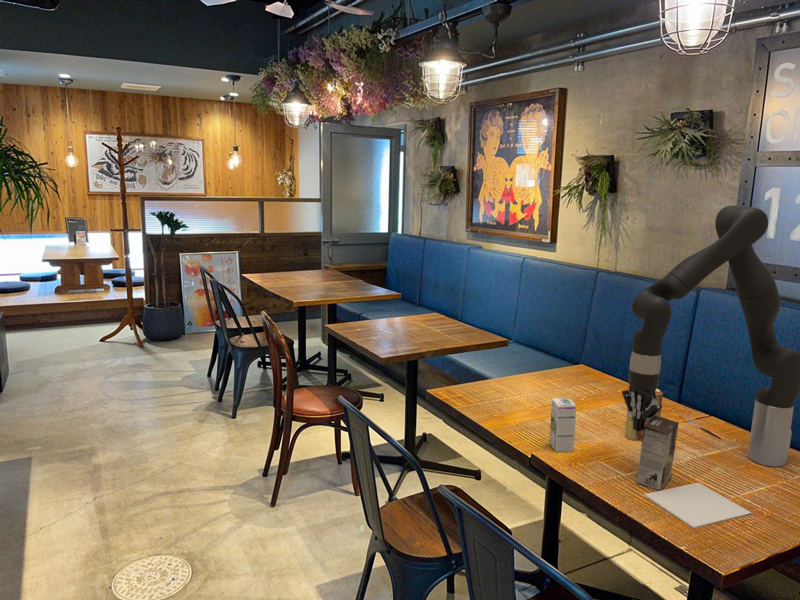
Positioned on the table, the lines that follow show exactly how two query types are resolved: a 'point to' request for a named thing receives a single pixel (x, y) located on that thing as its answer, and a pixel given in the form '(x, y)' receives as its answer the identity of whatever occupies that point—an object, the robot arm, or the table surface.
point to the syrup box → (562, 425)
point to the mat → (697, 505)
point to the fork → (701, 427)
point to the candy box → (638, 435)
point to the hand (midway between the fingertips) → (638, 429)
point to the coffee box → (657, 452)
